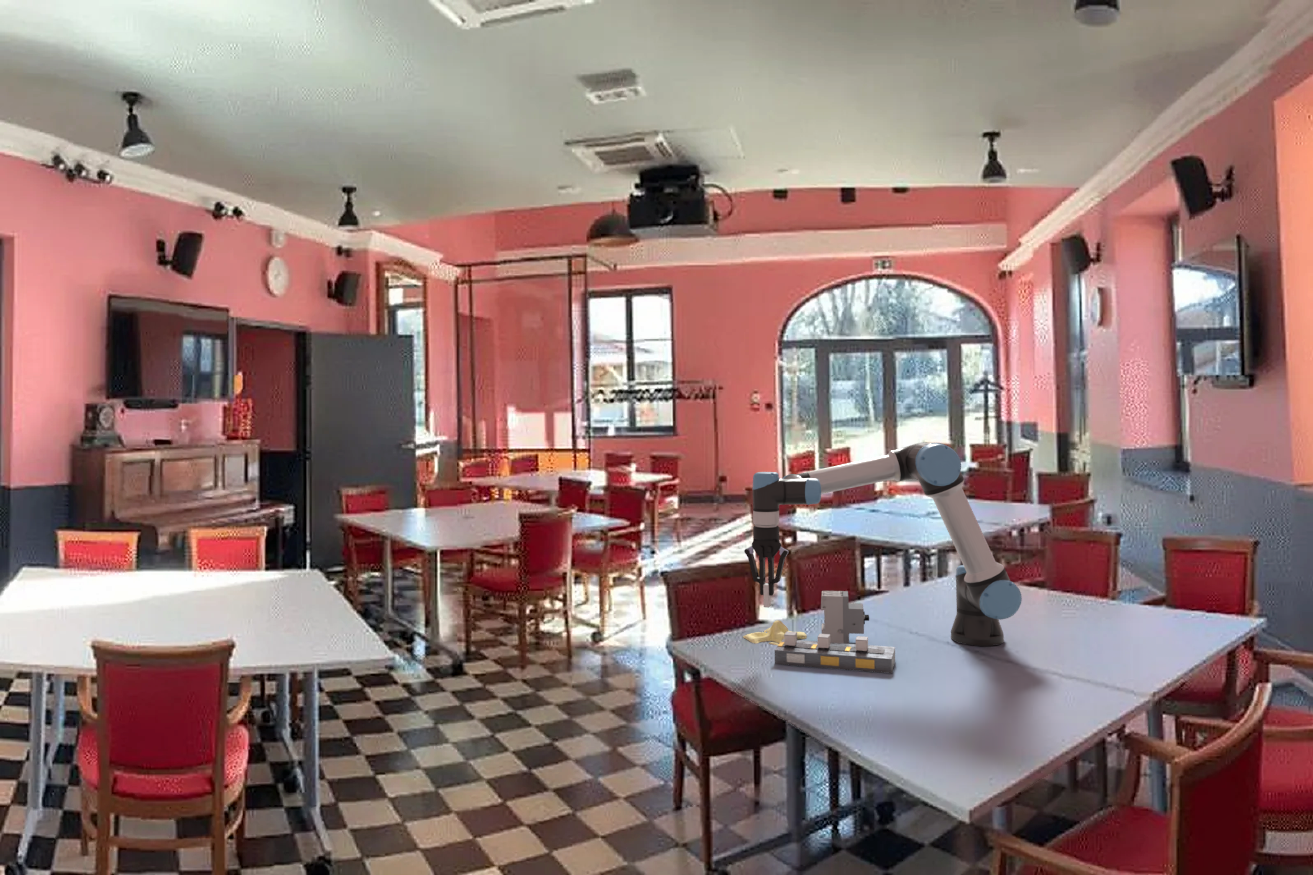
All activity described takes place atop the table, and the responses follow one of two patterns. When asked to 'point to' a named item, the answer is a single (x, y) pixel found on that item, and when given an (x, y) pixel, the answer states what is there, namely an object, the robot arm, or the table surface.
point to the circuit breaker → (841, 616)
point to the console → (836, 656)
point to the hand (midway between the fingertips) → (767, 606)
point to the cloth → (772, 634)
